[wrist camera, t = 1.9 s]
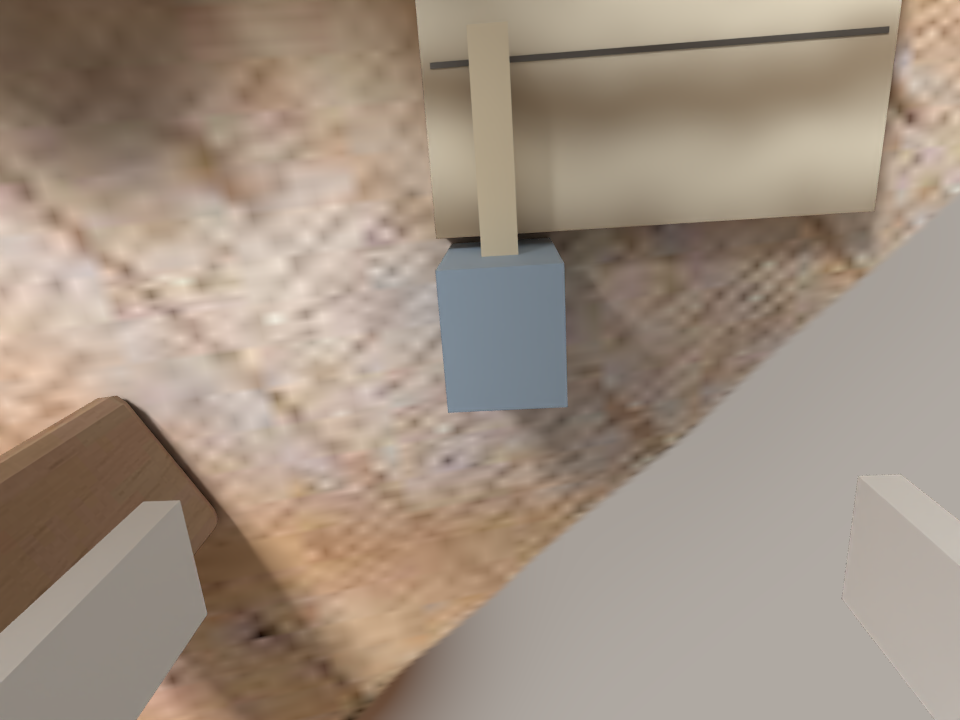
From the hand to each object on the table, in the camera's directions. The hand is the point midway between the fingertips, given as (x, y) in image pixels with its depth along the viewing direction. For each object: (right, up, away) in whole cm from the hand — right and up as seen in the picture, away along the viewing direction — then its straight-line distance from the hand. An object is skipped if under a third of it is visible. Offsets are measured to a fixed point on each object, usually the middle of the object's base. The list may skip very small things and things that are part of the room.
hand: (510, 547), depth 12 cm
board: (+7, +16, +17) cm, 24 cm away
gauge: (0, +11, +19) cm, 22 cm away
